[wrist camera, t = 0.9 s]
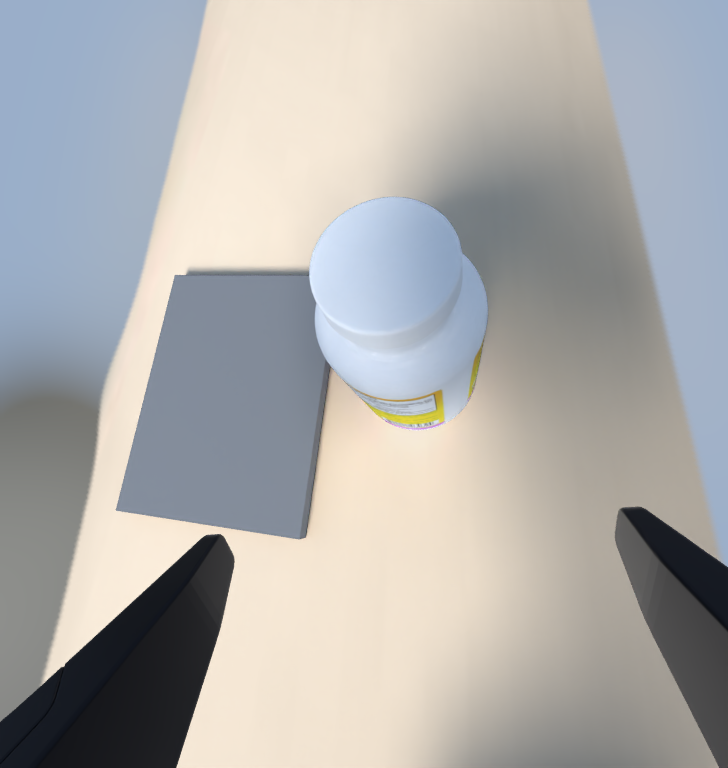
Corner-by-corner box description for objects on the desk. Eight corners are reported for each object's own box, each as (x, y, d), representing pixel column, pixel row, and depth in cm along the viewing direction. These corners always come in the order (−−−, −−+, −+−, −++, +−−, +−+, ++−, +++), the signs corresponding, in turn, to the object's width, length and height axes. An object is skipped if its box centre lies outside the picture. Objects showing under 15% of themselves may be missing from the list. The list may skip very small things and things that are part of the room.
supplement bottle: (426, 305, 25) (404, 130, 13) (499, 384, 23) (554, 262, 11) (341, 371, 25) (241, 257, 13) (407, 456, 23) (360, 414, 11)
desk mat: (305, 537, 23) (299, 539, 22) (128, 509, 26) (115, 510, 25) (341, 283, 27) (337, 275, 26) (183, 282, 30) (174, 275, 29)
